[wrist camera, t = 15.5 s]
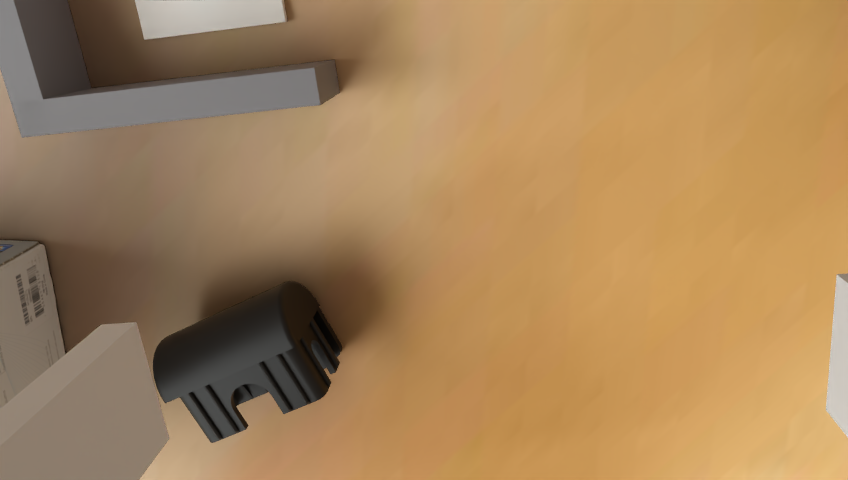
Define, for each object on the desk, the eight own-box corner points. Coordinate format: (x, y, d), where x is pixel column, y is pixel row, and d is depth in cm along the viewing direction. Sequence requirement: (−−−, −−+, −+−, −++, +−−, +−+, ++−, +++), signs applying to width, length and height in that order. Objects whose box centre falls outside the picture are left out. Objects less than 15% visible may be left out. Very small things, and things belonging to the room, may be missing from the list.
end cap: (300, 262, 47) (269, 304, 40) (351, 347, 49) (329, 400, 42) (182, 317, 49) (135, 365, 43) (234, 396, 51) (197, 453, 45)
